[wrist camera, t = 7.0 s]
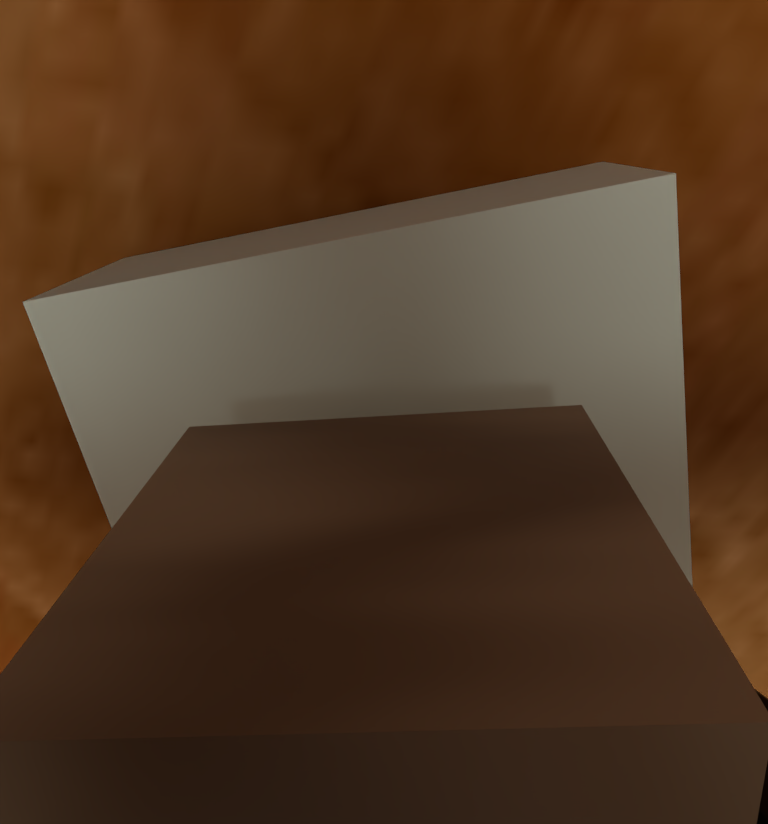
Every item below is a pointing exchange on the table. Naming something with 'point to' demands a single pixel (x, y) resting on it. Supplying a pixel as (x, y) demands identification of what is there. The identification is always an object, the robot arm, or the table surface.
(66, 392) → the base block
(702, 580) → the table surface
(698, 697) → the walnut cube
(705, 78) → the table surface
